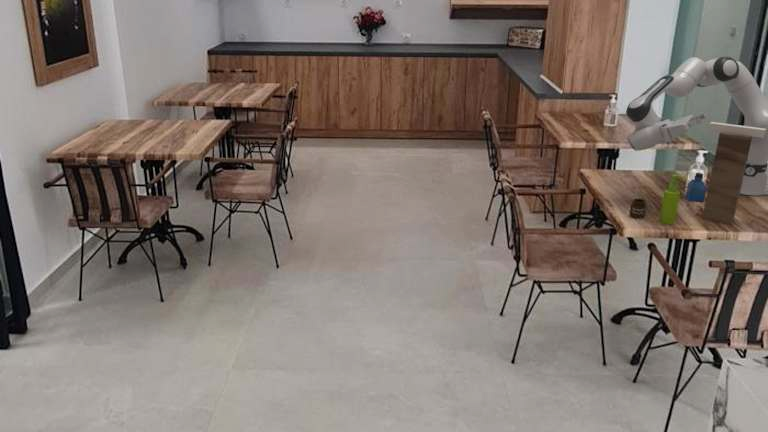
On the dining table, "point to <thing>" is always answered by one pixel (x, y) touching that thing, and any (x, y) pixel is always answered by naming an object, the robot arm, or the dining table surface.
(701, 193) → the perfume bottle
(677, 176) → the soap dispenser
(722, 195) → the stand
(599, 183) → the dining table surface
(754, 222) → the dining table surface
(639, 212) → the utensil holder
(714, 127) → the rod
